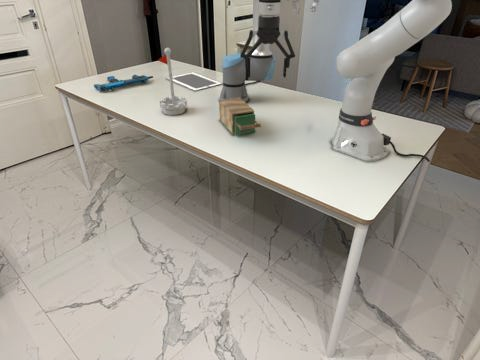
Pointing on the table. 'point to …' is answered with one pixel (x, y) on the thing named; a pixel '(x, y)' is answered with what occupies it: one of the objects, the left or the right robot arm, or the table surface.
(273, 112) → the table surface
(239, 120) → the drawer
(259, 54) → the left robot arm
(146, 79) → the submachine gun
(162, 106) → the flag stand
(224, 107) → the tan storage bin
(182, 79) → the tablet
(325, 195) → the table surface
